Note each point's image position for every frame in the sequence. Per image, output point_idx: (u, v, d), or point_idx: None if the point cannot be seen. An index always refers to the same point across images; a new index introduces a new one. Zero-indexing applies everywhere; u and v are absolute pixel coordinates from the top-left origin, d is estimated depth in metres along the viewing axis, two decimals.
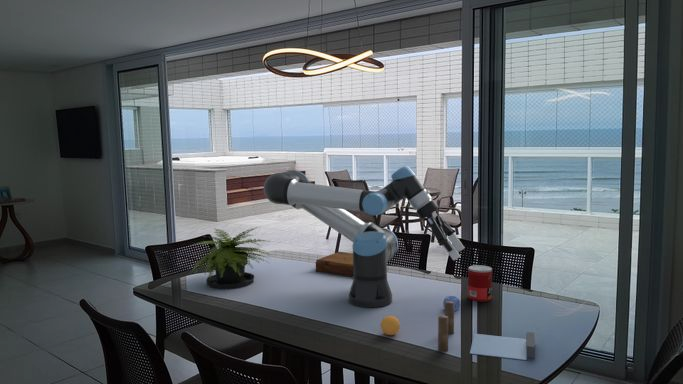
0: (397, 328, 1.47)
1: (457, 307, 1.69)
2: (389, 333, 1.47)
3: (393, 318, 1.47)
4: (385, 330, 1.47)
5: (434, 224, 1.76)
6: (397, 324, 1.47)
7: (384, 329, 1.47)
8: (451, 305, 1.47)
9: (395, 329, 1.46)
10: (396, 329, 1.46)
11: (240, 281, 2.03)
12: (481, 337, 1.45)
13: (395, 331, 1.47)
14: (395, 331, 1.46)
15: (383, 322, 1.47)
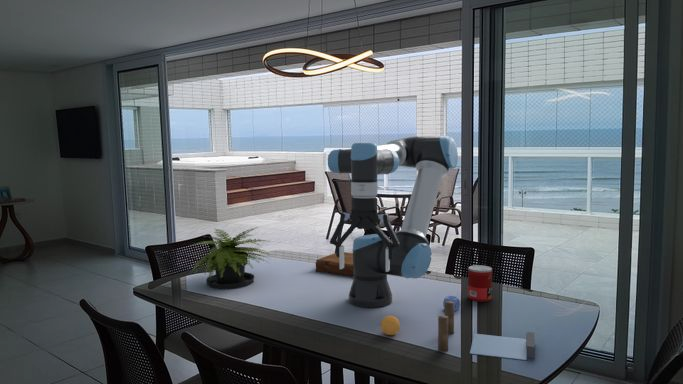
0: (397, 328, 1.47)
1: (457, 307, 1.69)
2: (389, 333, 1.47)
3: (393, 318, 1.47)
4: (385, 330, 1.47)
5: (339, 222, 1.50)
6: (397, 324, 1.47)
7: (384, 329, 1.47)
8: (451, 305, 1.47)
9: (395, 329, 1.46)
10: (396, 329, 1.46)
11: (240, 281, 2.03)
12: (481, 337, 1.45)
13: (395, 331, 1.47)
14: (395, 331, 1.46)
15: (383, 322, 1.47)
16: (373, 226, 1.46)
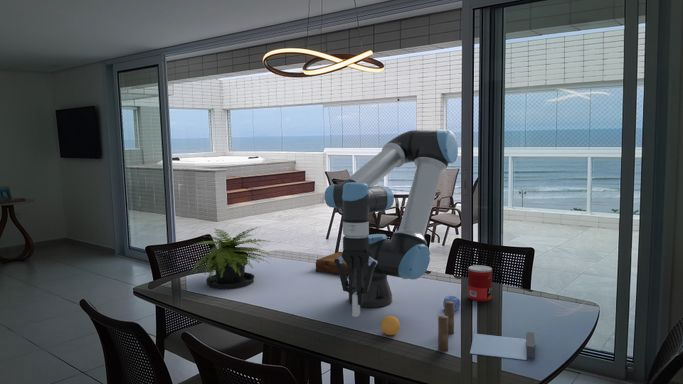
0: (397, 328, 1.47)
1: (457, 307, 1.69)
2: (389, 333, 1.47)
3: (393, 318, 1.47)
4: (385, 330, 1.47)
5: None
6: (397, 324, 1.47)
7: (384, 329, 1.47)
8: (451, 305, 1.47)
9: (395, 329, 1.46)
10: (396, 329, 1.46)
11: (240, 281, 2.03)
12: (481, 337, 1.45)
13: (395, 331, 1.47)
14: (395, 331, 1.46)
15: (383, 322, 1.47)
16: (358, 267, 1.48)
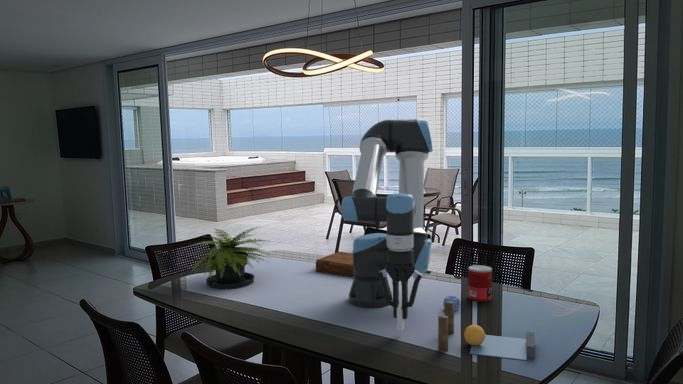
0: (469, 343, 1.40)
1: (457, 307, 1.69)
2: (467, 335, 1.39)
3: None
4: (472, 334, 1.38)
5: None
6: (473, 345, 1.40)
7: (473, 334, 1.38)
8: (451, 305, 1.47)
9: None
10: (468, 342, 1.39)
11: (240, 281, 2.03)
12: None
13: None
14: (467, 341, 1.39)
15: (480, 335, 1.38)
16: (403, 281, 1.44)
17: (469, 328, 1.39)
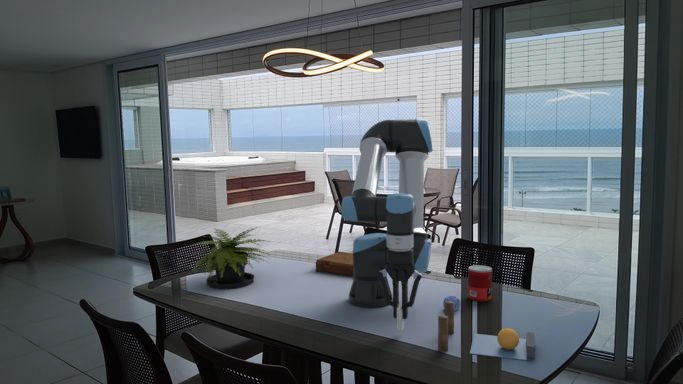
0: (513, 333, 1.35)
1: (457, 307, 1.69)
2: (514, 344, 1.35)
3: (501, 331, 1.37)
4: (509, 346, 1.35)
5: None
6: (509, 330, 1.36)
7: (507, 346, 1.35)
8: (451, 305, 1.47)
9: (513, 335, 1.35)
10: (513, 335, 1.35)
11: (240, 281, 2.03)
12: (481, 337, 1.45)
13: (515, 337, 1.35)
14: (515, 336, 1.35)
15: (500, 343, 1.36)
16: (403, 281, 1.44)
17: None
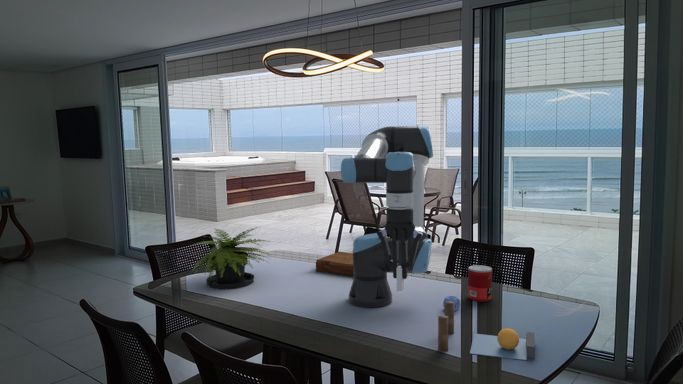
0: (513, 333, 1.35)
1: (457, 307, 1.69)
2: (514, 344, 1.35)
3: (501, 331, 1.37)
4: (509, 346, 1.35)
5: None
6: (509, 330, 1.36)
7: (507, 346, 1.35)
8: (451, 305, 1.47)
9: (513, 335, 1.35)
10: (513, 335, 1.35)
11: (240, 281, 2.03)
12: (481, 337, 1.45)
13: (515, 337, 1.35)
14: (515, 336, 1.35)
15: (500, 343, 1.36)
16: (403, 240, 1.43)
17: None
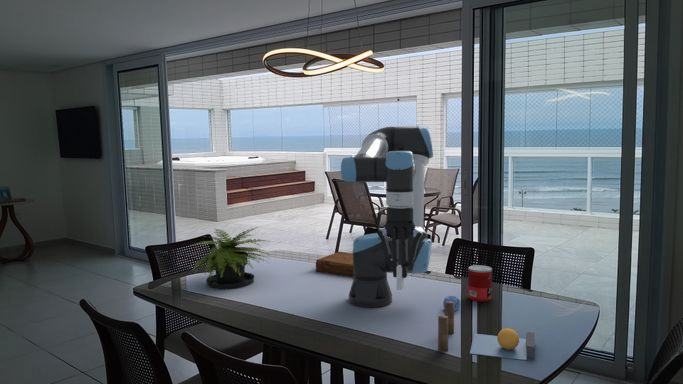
0: (513, 333, 1.35)
1: (457, 307, 1.69)
2: (514, 344, 1.35)
3: (501, 331, 1.37)
4: (509, 346, 1.35)
5: None
6: (509, 330, 1.36)
7: (507, 346, 1.35)
8: (451, 305, 1.47)
9: (513, 335, 1.35)
10: (513, 335, 1.35)
11: (240, 281, 2.03)
12: (481, 337, 1.45)
13: (515, 337, 1.35)
14: (515, 336, 1.35)
15: (500, 343, 1.36)
16: (403, 239, 1.43)
17: None
